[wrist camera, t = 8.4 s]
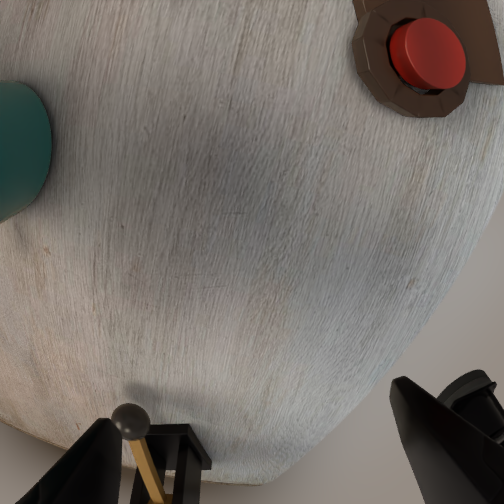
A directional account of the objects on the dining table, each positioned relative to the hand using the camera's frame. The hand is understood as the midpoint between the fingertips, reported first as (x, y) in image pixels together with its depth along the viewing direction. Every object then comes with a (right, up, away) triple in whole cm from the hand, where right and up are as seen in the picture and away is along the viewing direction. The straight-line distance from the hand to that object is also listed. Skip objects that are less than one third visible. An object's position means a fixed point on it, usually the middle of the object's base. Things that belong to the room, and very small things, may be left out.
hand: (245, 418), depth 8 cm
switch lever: (-8, -13, +14) cm, 21 cm away
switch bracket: (-8, -15, +19) cm, 25 cm away
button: (+9, +15, +3) cm, 17 cm away
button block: (+10, +18, +5) cm, 21 cm away
